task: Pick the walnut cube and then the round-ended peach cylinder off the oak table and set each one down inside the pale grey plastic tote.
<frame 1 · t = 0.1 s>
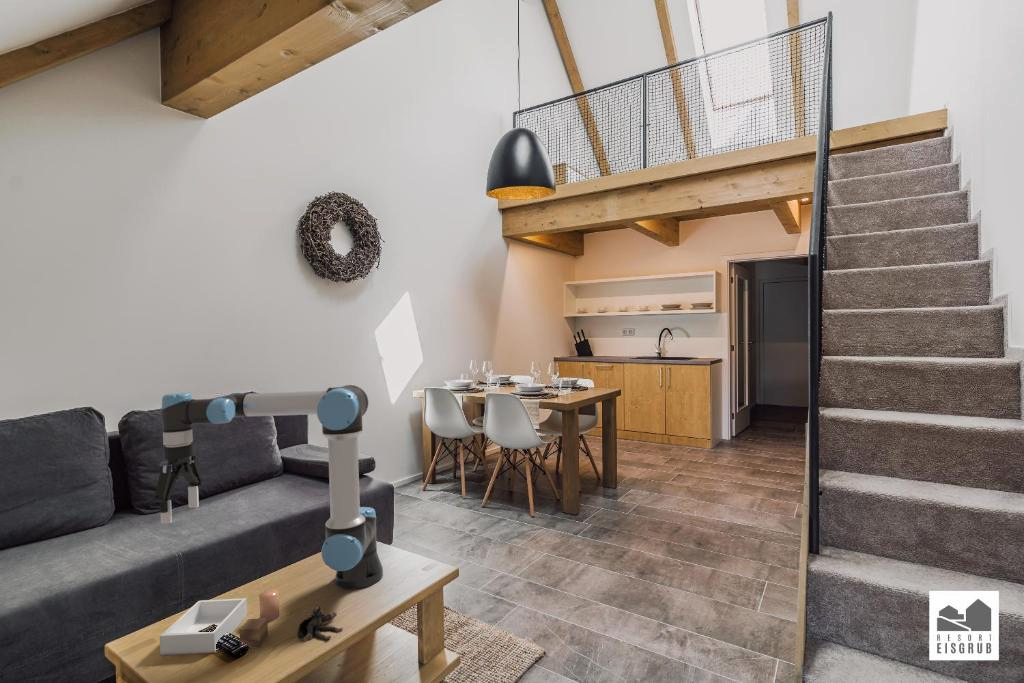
hand: (180, 514, 155), 28 cm above the table, fingers open, 13 cm apart
walnut cube: (254, 642, 136), on the table
round-ended peach cylinder: (269, 617, 148), on the table
dark brown branched piece: (318, 630, 142), on the table
tote: (206, 634, 140), on the table
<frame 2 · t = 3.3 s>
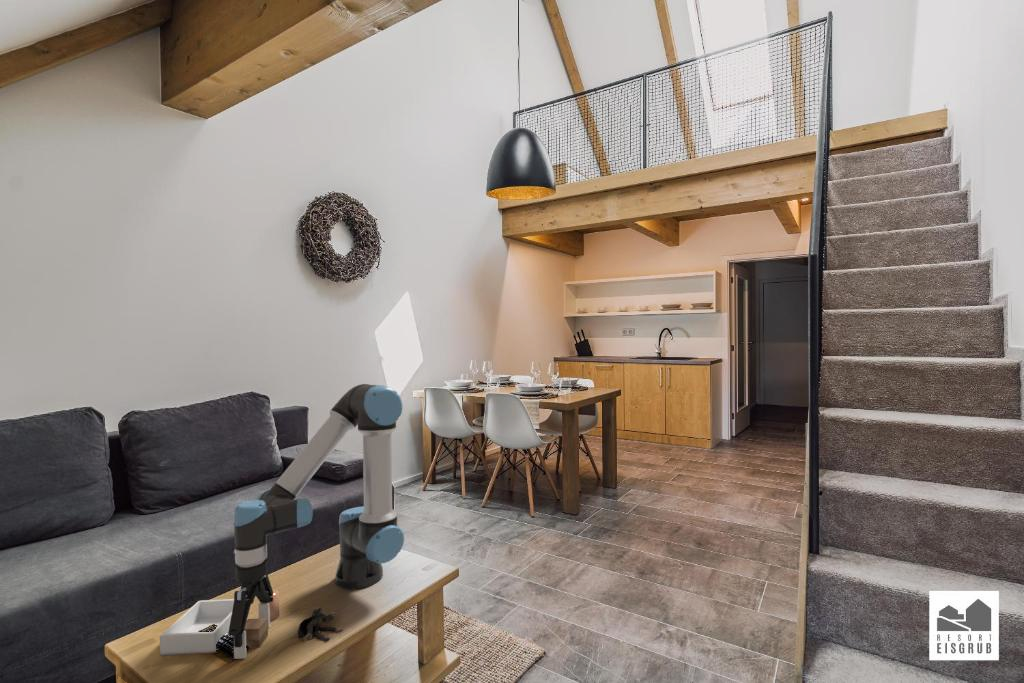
hand: (253, 641, 136), 0 cm above the table, fingers open, 13 cm apart
round-ended peach cylinder: (269, 617, 148), on the table, touching gripper
everything else where it was.
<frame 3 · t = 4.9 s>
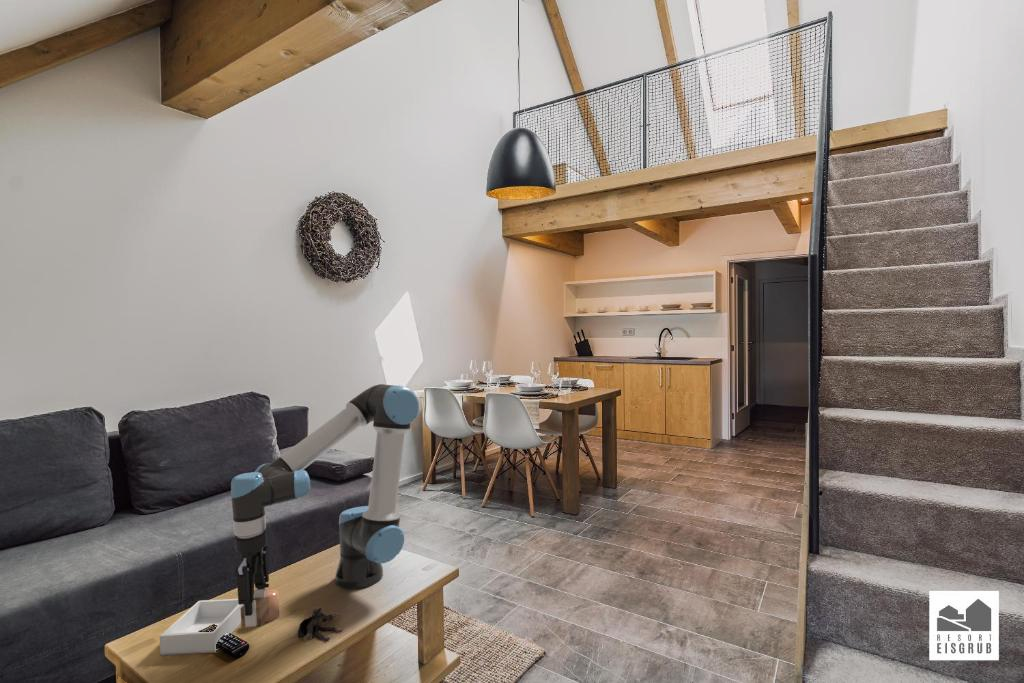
hand: (256, 619, 136), 6 cm above the table, fingers closed on walnut cube, 5 cm apart
walnut cube: (255, 621, 136), point 5 cm above the table, touching gripper
round-ended peach cylinder: (269, 617, 148), on the table
everything else where it was.
when the fingers open (4 cm above the table, at t = 8.0 s): walnut cube drops 3 cm, resting on tote.
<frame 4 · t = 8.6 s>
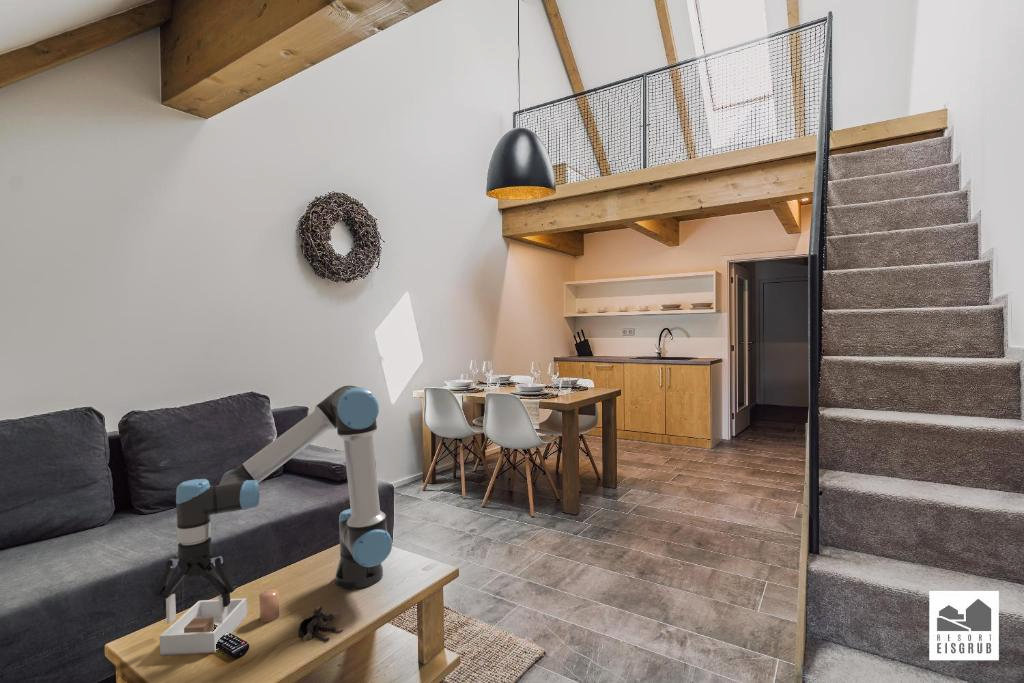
hand: (197, 619, 136), 6 cm above the table, fingers open, 13 cm apart
walnut cube: (199, 640, 136), resting on tote
everything else where it was.
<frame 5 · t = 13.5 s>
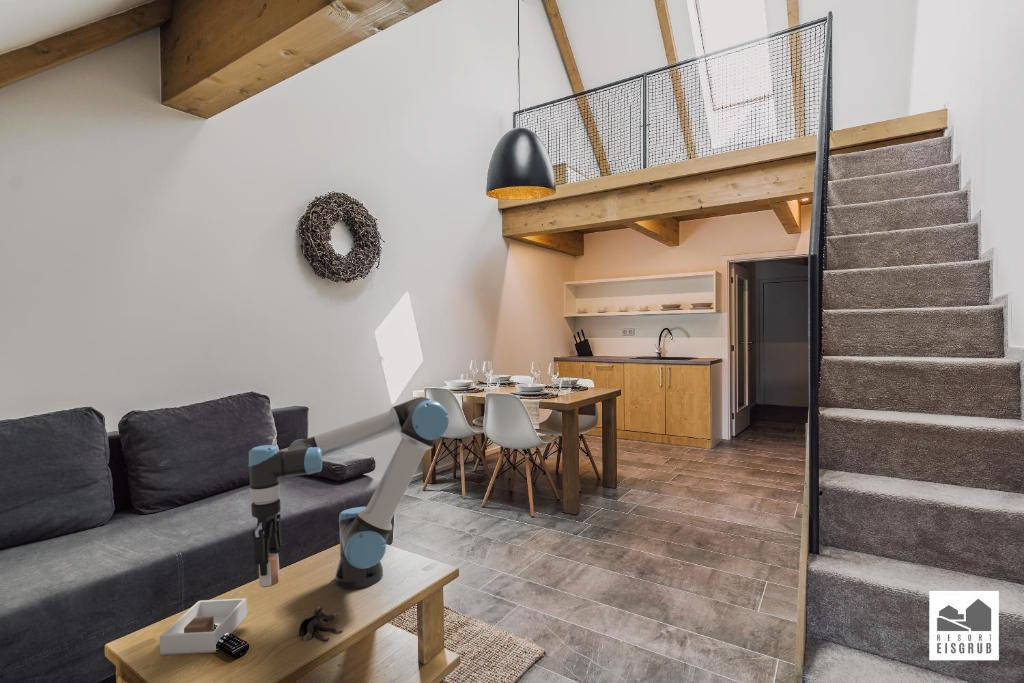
hand: (270, 580, 148), 11 cm above the table, fingers closed on round-ended peach cylinder, 5 cm apart
round-ended peach cylinder: (269, 582, 148), point 10 cm above the table, touching gripper
everything else where it was.
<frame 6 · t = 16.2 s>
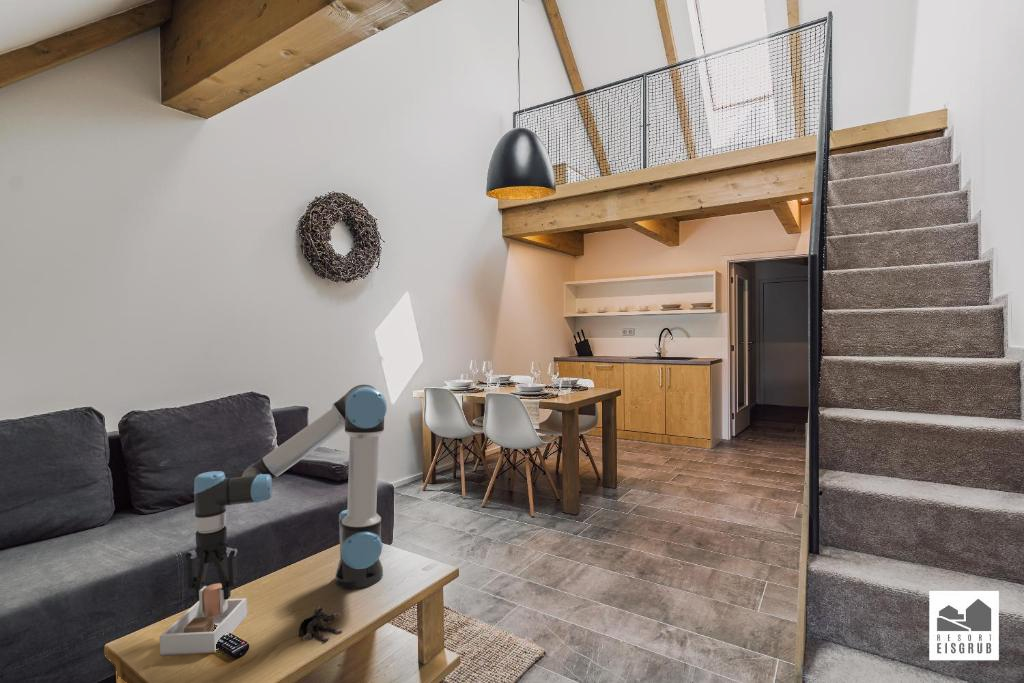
hand: (214, 610, 144), 4 cm above the table, fingers closed on round-ended peach cylinder, 5 cm apart
round-ended peach cylinder: (214, 612, 145), point 4 cm above the table, touching gripper
everything else where it was.
when the fingers open (4 cm above the table, at t = 16.4 s): round-ended peach cylinder drops 3 cm, resting on tote.
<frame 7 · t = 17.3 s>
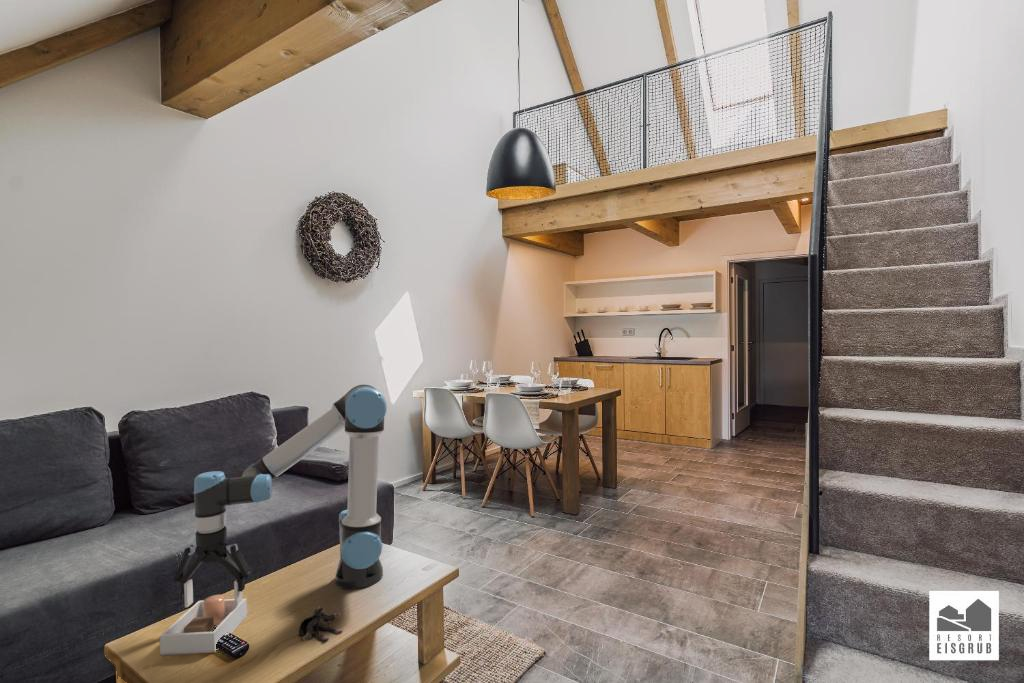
hand: (213, 603, 144), 6 cm above the table, fingers open, 13 cm apart
round-ended peach cylinder: (214, 623, 145), resting on tote
everything else where it was.
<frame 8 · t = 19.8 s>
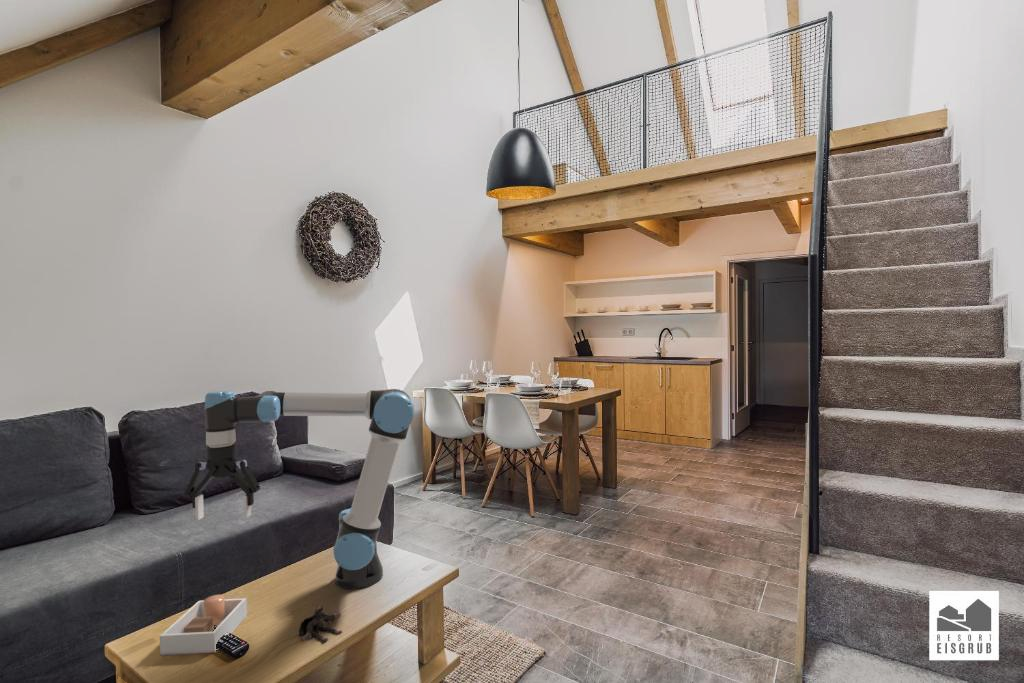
hand: (223, 517, 149), 29 cm above the table, fingers open, 13 cm apart
nothing on the table moved.
at the end: walnut cube inside the target area on the tote (3.8 cm from its centre), point 0.4 cm above the tote's base; round-ended peach cylinder inside the target area on the tote (4.3 cm from its centre), point 0.4 cm above the tote's base; the gripper is holding nothing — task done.
